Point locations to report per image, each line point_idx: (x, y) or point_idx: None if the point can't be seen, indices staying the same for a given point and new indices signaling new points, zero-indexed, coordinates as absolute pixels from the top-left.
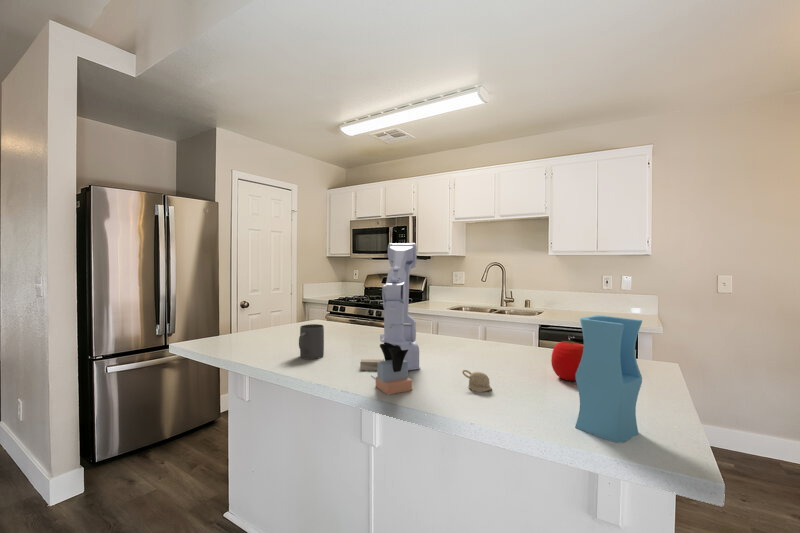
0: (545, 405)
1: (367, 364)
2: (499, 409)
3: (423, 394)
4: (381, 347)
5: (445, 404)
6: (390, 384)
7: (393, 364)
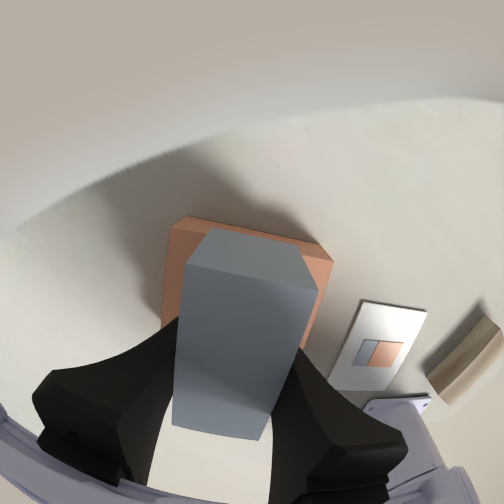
0: (15, 403)
1: (477, 344)
2: (4, 353)
3: (115, 326)
4: (366, 432)
5: (34, 305)
6: (170, 244)
7: (156, 335)
